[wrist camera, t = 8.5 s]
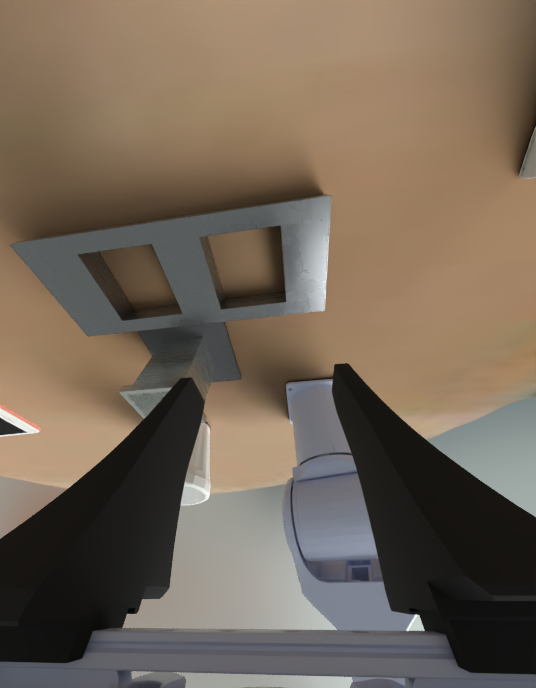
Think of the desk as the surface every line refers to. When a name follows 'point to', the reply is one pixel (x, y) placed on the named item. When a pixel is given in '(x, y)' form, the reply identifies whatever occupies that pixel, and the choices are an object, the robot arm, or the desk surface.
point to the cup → (198, 470)
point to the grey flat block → (184, 267)
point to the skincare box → (530, 160)
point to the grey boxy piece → (171, 373)
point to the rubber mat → (214, 339)
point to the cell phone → (15, 423)
